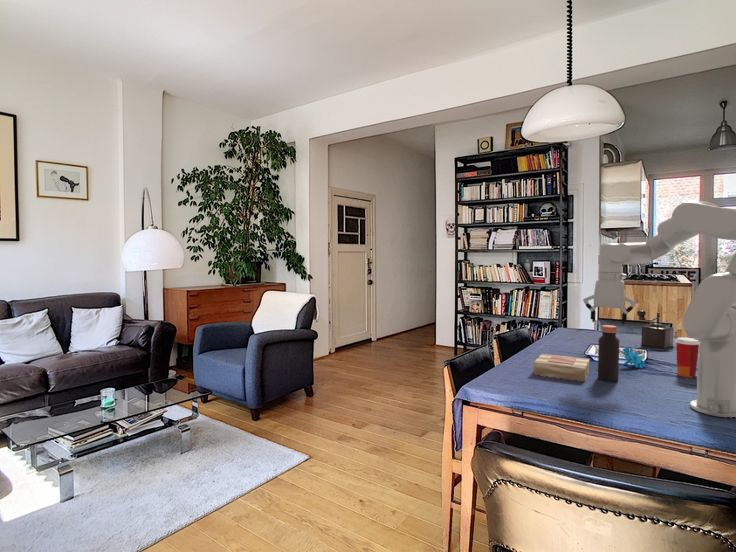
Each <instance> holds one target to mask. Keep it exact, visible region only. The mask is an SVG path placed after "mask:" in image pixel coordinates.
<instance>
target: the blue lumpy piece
mask: <svg viewBox="0 0 736 552" xmlns="http://www.w3.org/2000/svg"><path fill="white" fill-rule="evenodd" d="M622 354H623V355H624V359H625V360H626V361H625V362H624V363H623V365H625V366H627V365H629V364H630V365H633V367H635V368H639V369H643V368H645V367H646V365H645V363H646V361H644V360H643V358H644V356H643V355H639V352H638V351H635V350H634V349H633V348H630V347H629V346H626V347H624V348H623V349H622ZM633 363H635V364H633Z"/></svg>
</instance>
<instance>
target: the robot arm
mask: <svg viewBox="0 0 736 552" xmlns="http://www.w3.org/2000/svg"><path fill="white" fill-rule="evenodd" d="M656 228H657V229H656V230H657V234H656V235H655V236H652V237H651V238H649V239H647V240H645V241H643V242H623V243H617V242H616V243H615V242H614V243H613V242H612V243H610V242H609V243H602V244H601V245H600V247H599V256H598V257H599V259H598V260H599V261H598V264H599V265H598V279H596V281H595V284H594V285H595V286H594V291H593V292H594V293H593V295H589V296H587V297H585V298H583V300H582V301H583V303H584V305H585V307H586V308H588V309H587V310H589V311H590V320H592V321H591V322H592V323H595V322H596V314H597V313H596V309H597V308H607V309H608V308H609V309H620V310H621V311H622V314H621V325H625V323H627V319H628V313H630V312H631V311H632V310H633V309H634V307H636V305H637V302H636V301H635V300H633V299H631V298H629V297H627V296H626V286H625V281H624V280H623V279H626V278H627V273H624V272H623V265H643V264H647V263H650V262H653V261H655V260H658V259H659V258H661V257H664V256H665V255H667V254H669V253H670V252H671V251H672V250H673V249H674V248H675V247H676V246H678V245H679V244H682V243H684V242H685V241H686V242H687V241H688V240H689V239H692V238H694V237H696V236H698V235H703V236H708V237H711V238H715V239H720V240H727V241H736V208H729V207H722V206H718V205H717V204H715V203H713V202H710V201H703V200H702V201H700V200H699V201H698V200H688V201H684V202H682V203H680V204H678V205H676V207H675V208H674V209H673V211H672V213H671V217H670V218H668V219H666V220H663V221H662V222H660V223H659V224H658V226H657V227H656ZM591 300H593V306H592V305H591V304H590V302H589V301H591ZM626 302H627V303H629V304H630V305H629V306H628V307H625V304H626ZM733 307H736V251H735V252H734V253H733V255H732V257H731V259H730V261H729V263H728V265H727V266H726V269H725V270H724V271H723V272H720V273H715V274H711V275H709V276H707V277H705V278H704V279H703V280H702V281H701V282H700V283H699V284H698V286H697V287H696V290H695V292H694V294H693V296H692V297H691V299H690V301H689V304H688V306H687V309H686V310H685V311H684V312H685V313H684V315H683V317H682V328H683V331H684V332H685V334H686V335H687V336H688V337H689V338H693V339H696V340H699V343H700V344H699V348H698V359H697V373H696V374H697V375H696V376H697V377H696V399H695V400H694V399H693V400H691V401H690V402H689V407H690V408H691V409H692V410H694V411H696V412H699V413H702V414H705V415H708V416H709V415H710V416H713V417H719V418H727V417H730V418H731V419H732V417H735V418H736V309H735V308H733ZM730 418H729V419H730Z"/></svg>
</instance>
